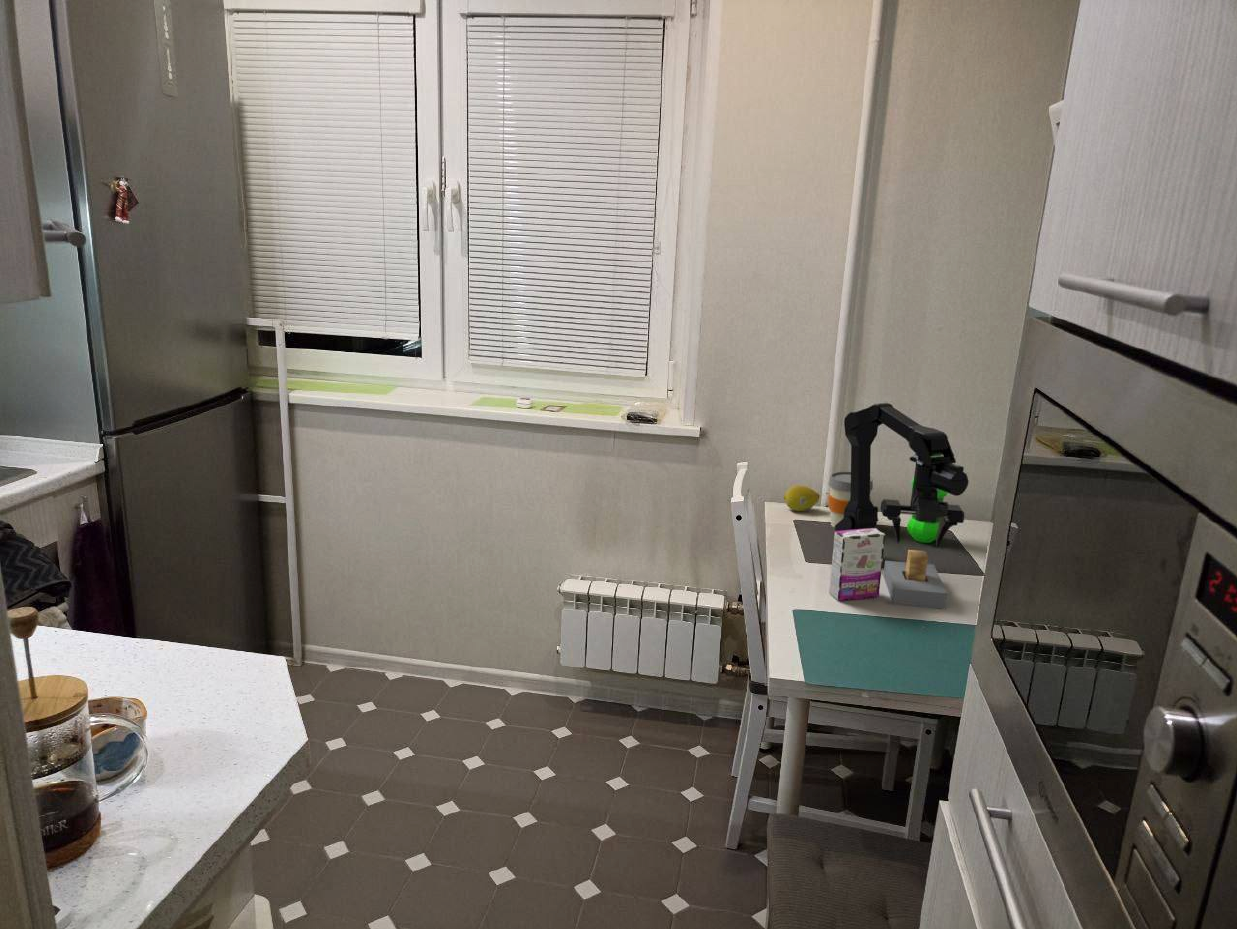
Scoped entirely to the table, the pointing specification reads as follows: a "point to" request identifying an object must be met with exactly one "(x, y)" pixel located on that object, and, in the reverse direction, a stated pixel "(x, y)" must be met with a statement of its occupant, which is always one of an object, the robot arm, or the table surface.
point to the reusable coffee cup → (840, 494)
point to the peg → (916, 565)
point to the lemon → (801, 498)
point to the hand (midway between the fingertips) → (917, 544)
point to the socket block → (914, 587)
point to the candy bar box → (857, 564)
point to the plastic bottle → (925, 530)
